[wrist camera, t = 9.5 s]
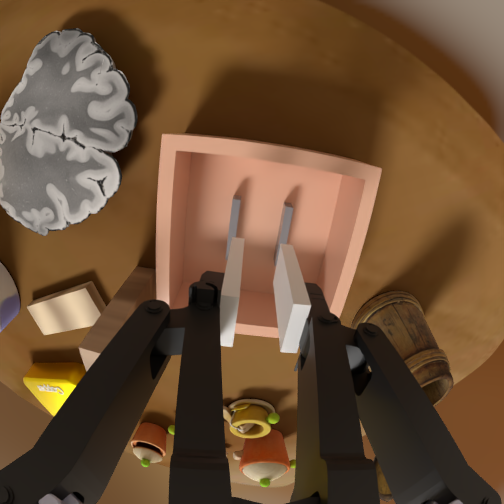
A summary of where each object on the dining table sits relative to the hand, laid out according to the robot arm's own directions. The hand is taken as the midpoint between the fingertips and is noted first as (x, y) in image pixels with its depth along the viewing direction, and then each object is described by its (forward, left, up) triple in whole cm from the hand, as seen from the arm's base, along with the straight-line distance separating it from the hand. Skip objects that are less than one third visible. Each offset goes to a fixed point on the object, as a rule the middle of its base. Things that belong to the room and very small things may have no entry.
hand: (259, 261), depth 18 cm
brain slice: (-7, -19, -8) cm, 22 cm away
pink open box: (0, 0, -7) cm, 7 cm away
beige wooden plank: (+13, -21, -8) cm, 26 cm away
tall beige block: (+8, -10, -7) cm, 15 cm away
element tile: (+32, -25, -8) cm, 41 cm away
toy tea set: (+34, -2, -8) cm, 35 cm away
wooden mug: (+11, +16, -8) cm, 21 cm away
